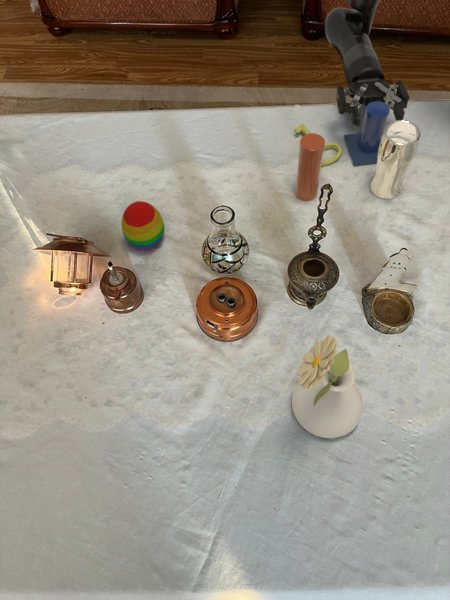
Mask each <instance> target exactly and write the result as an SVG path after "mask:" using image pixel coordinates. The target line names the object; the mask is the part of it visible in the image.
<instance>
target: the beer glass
mask: <svg viewBox="0 0 450 600" xmlns="http://www.w3.org/2000/svg"><path fill="white" fill-rule="evenodd" d="M420 138H421V130H420V128H419V127H418V126H417V124H415V123H414V122H411V121H409V120H406V119H403V120H396V119H395V120H392V121H390V122H389V123H386V126H385V129H384V132H383V135H382V137H381V140H380V143H379V147H378V151H377V163H376V166H375V167H376V168H375V174H374V177H373V178H372V180H371V181H370V185H369V186H370V187H369V189H370V192H371V193H372V194H373V195H374V196H376V197H377V198H380V199H383V200H389V199H394V198H395V197H397V196H398V195H399V194H400V192H401V186H402V180H403V178H404V176H405V174H406V172H407V171H408V169H409V168H410V166H411V164H412V162H413V160H414V159H415V156H416V153H417V151H418V147H419V142H420Z"/></svg>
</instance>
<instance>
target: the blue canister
mask: <svg viewBox="0 0 450 600" xmlns="http://www.w3.org/2000/svg"><path fill="white" fill-rule="evenodd" d="M390 110H391V109H390V108H389V106H388V105H387V104H386V103H384V102H380V101H374V102H371V103H369V104H368V105H367V106H366V107H365V112H364V116H363V121H362V125H361V129H360V133H361V135H360V139H359V143H358V147H359V149H360V150H361V151H362V152H364V153H369V154H371V153H375V152H377V151H378V147H379V143H380V140H381V137H382V135H383V132H384V129H385V127H386V125H387V122H388V118H389V115H390Z"/></svg>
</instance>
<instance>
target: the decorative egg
mask: <svg viewBox="0 0 450 600" xmlns="http://www.w3.org/2000/svg"><path fill="white" fill-rule="evenodd" d="M121 230H122V231H121V232H122V234H123V236H124V238H125V240H126V241H127V243H129V245H130V246H132V247H133V248H136V249H138V250H142V251H143V250H145V251H146V250H151V249H154V248H155V247H156V246H158V245H159V244H160V243H161V241H162V240H163V238H164V234H165V221H164V218H163V216H162V215H161V213H160V212H159V210H158V209H157V207H155V206H154V205H153V204H151V203H149V202H146V201H142V200H140V201H134V202H132V203H130V204H129V205H128V206H127V207H126V208H125V210H124V211H123V214H122V217H121Z"/></svg>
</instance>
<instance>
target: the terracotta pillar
mask: <svg viewBox="0 0 450 600" xmlns="http://www.w3.org/2000/svg"><path fill="white" fill-rule="evenodd" d="M325 144H326V140H325V138H324V137H323V136H322V135H320V134H318V133H316V132H315V133H314V132H311V133H309V134H306V135H305V134H303V136H301V137H300V140H299V148H298V157H297V158H298V160H297V170H296V180H295V190H294V194H295V196H296V197H297V199H299V200H300V201H304V202H309V201H310V202H311V201H312V200H314V199H316V197H317V196H318V193H319V192H318V191H319V185H320V178H321V172H322V166H321V165H322V161H323V158H324V151H325V150H324V145H325Z"/></svg>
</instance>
